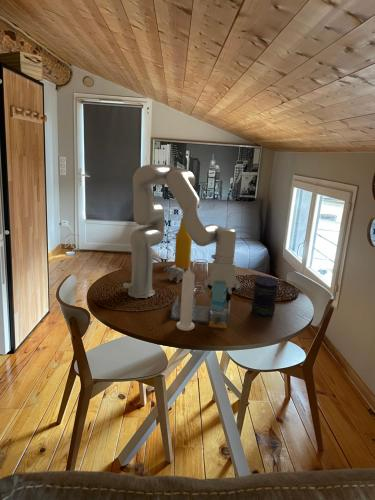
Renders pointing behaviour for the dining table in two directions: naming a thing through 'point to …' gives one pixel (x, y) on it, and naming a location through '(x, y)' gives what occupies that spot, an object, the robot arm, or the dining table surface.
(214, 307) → the data package
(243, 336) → the dining table surface
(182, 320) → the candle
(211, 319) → the rack
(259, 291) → the storage jar
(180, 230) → the beer bottle
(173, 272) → the gray elephant figurine
